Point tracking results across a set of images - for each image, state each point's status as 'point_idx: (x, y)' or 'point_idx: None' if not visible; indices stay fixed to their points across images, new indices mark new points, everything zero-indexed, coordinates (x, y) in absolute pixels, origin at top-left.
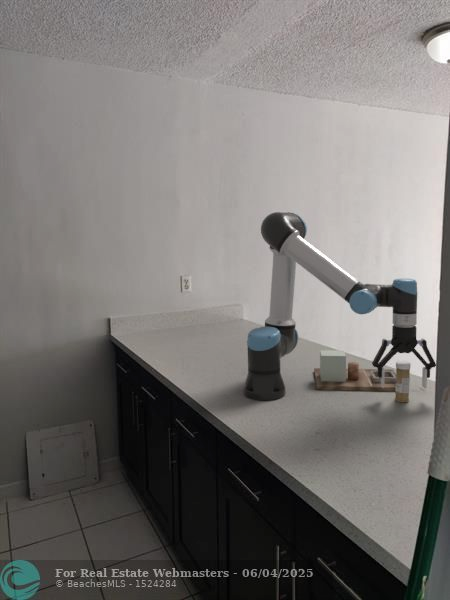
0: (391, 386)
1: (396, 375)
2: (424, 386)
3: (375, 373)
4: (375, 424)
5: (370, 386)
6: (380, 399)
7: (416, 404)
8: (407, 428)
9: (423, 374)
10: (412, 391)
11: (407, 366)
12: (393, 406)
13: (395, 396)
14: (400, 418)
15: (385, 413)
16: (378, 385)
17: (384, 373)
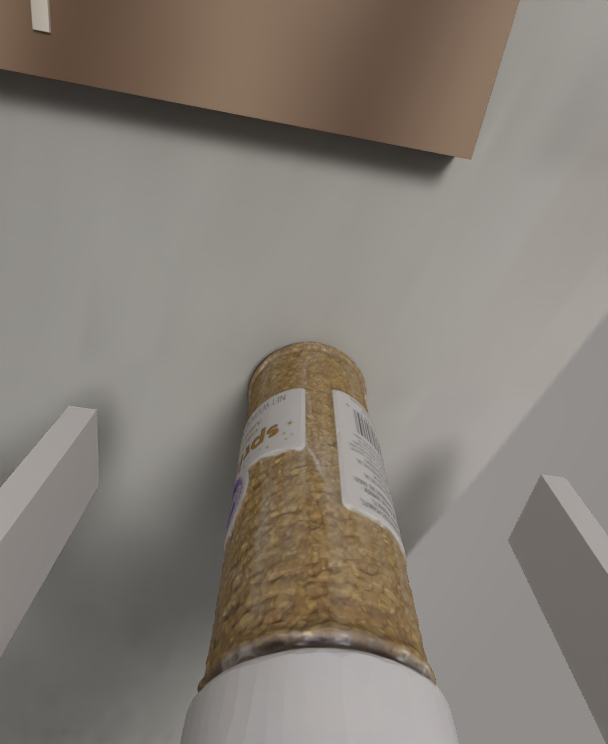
0: (317, 88)
1: (220, 584)
2: (518, 554)
3: None
4: (30, 678)
5: (26, 51)
6: (125, 351)
7: (385, 472)
8: (184, 713)
9: (599, 646)
10: (544, 154)
11: None
12: (196, 491)
13: (250, 399)
14: (185, 635)
15: (111, 579)
16: (148, 16)
17: (6, 645)
